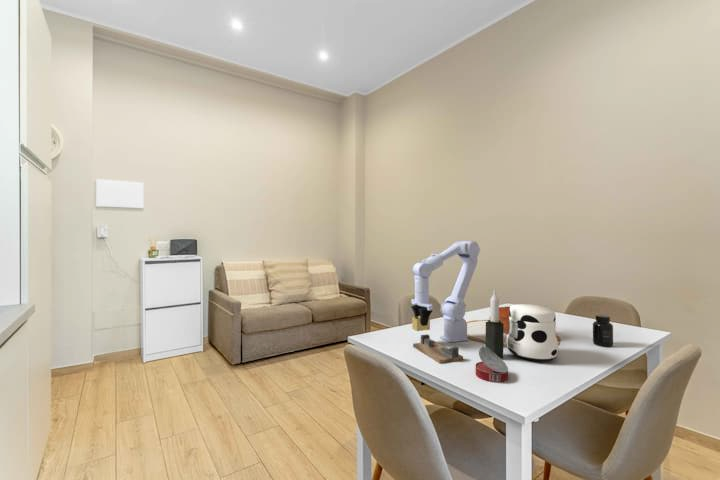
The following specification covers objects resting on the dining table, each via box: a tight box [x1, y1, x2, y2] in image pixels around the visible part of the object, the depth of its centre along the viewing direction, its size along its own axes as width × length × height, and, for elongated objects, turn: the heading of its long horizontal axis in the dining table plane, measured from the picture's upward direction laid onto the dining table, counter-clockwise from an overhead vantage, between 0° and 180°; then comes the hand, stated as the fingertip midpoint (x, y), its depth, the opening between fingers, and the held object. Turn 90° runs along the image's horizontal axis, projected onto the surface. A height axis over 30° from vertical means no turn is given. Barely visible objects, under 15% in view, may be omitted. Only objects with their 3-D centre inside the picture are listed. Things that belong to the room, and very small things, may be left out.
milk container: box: [506, 303, 559, 362], centre depth 124 cm, size 17×17×18 cm
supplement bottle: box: [592, 314, 614, 348], centre depth 137 cm, size 7×7×12 cm
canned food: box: [475, 346, 509, 384], centre depth 107 cm, size 11×10×10 cm
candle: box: [485, 290, 504, 359], centre depth 123 cm, size 5×5×25 cm
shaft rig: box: [412, 333, 464, 364], centre depth 127 cm, size 10×19×4 cm, turn 20°
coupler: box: [411, 315, 431, 332], centre depth 138 cm, size 6×4×6 cm, turn 109°
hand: (421, 324), depth 138 cm, fingers closed on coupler, 4 cm apart
